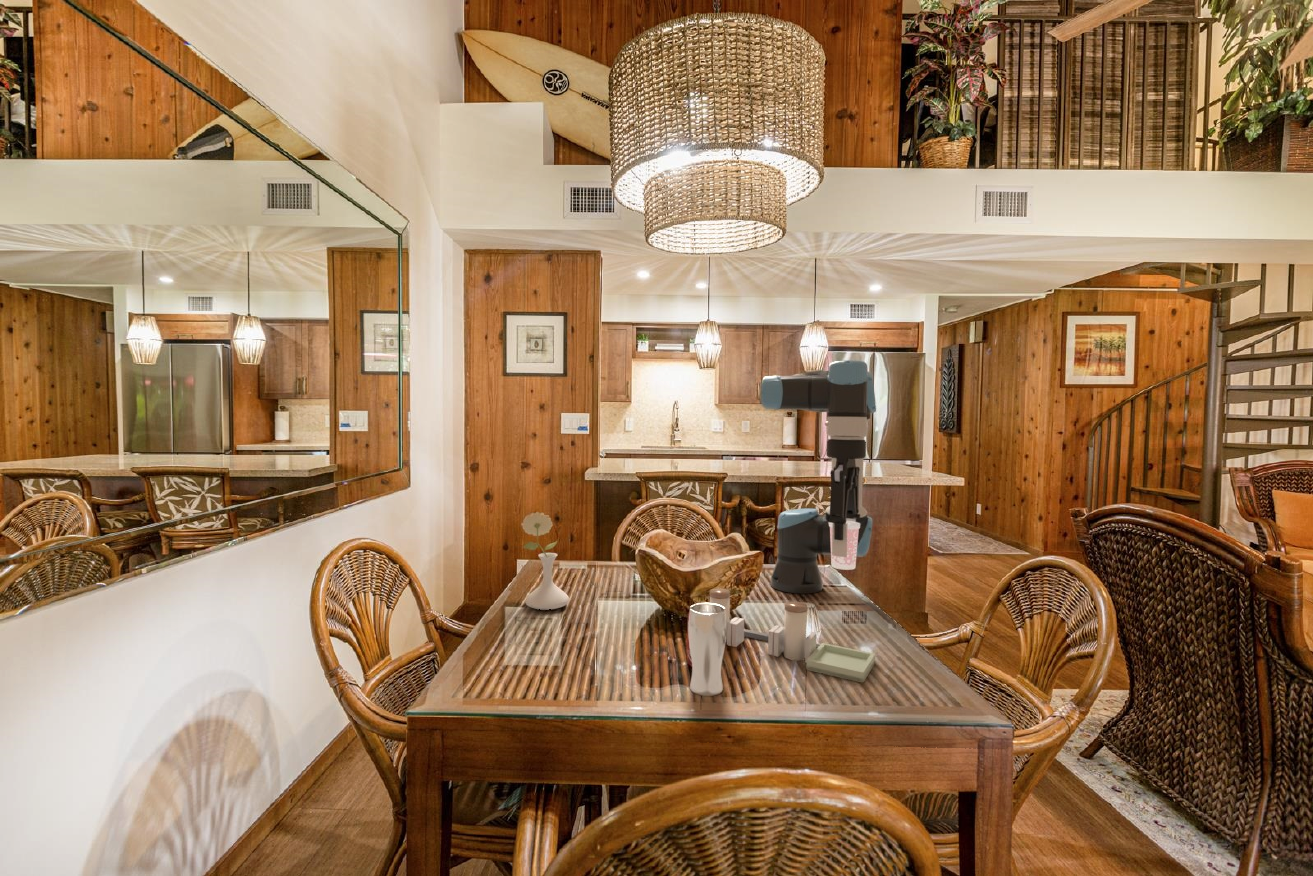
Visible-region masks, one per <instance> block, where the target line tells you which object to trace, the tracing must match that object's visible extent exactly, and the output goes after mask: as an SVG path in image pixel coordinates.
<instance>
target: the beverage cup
mask: <svg viewBox="0 0 1313 876" xmlns="http://www.w3.org/2000/svg"><path fill="white" fill-rule="evenodd" d="M846 523H847V524H848V529H847V557H840V556H833V555H832V533H833V523H830V522H829V527H830V541H831V555H830V559H831V560H830V561H831V564H830V565H831V567H832V568H834V569H837V570H846V571H849V570H850V571H851V570H855V569H856V566H857V565H856V564H857V557H856V555H857V543H858V532H859V528H860V523H858V522H854V521H846Z"/></svg>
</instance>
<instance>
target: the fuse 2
mask: <svg viewBox="0 0 1313 876" xmlns="http://www.w3.org/2000/svg"><path fill="white" fill-rule="evenodd" d="M807 611H808V605H807V604H806V602H802V601H801V602H800V601H795V600H794V601H793V600H792V601H786V602H784V624H783V625H784V626H783V627H784V651H783V656H784V658H785V659H788V660H791V661H804V660H805V639H806V638H807V619H808V618H807V614H808V613H807ZM803 659H804V660H803Z"/></svg>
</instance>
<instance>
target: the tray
mask: <svg viewBox="0 0 1313 876" xmlns="http://www.w3.org/2000/svg"><path fill="white" fill-rule="evenodd" d="M819 645H820V646H819V647H818V648H817V649H816V650H815V651H814V652H813V653H812V654H811V655H810V657H809V658H808V659H807V660H806V663H805V664H806V667H805V669H806V671H809V670H810V672H815V673H820V674H822V673H823V675H827V676H832V677H837V678H840V679H844V680H847V681H848V680H849V681H853V682H858V683H861V684H864V683H865V680H866V679H867V677H868V676H869V674H870V672H871V671H872V669H873V667H874V666H875V664H876V653H874V652H870V651H869V652H868V651H864V650H858V649H854V648H850V647H844V646H840V645H839V646H838V645H835V644H831V643H830V644H829V643H825V642H821V644H819Z"/></svg>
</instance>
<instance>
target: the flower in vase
mask: <svg viewBox="0 0 1313 876" xmlns="http://www.w3.org/2000/svg"><path fill="white" fill-rule="evenodd" d="M520 525H521V527H522V529H523V530H524V533H526V534H528V535H532V536H533V537H536V540H537V542H533V541H530V542H529V541H528V542H527V543H526V544H524V545H523V547H522V549H526V550H531V551H535V550H536V549H537V548H538V547H539V548H540V549H541V551H542V553H539V554H538V558H539V559H540V562H541V563H542V569H543V570H542V571H543V575H542V582H541V584H540V585H538V587H536V588H535V589H534V590H533V591H531V592H530V593H529V594H528V595H527V596H526V598H525V604H526V605H527V607H529V608H532V609H535V610H539V609H540V610H541V611H546V610H547V611H550V610H549V609H551V610H556V609H559V608H563V607H565V606H567V605H568V603H569V602H570V597H569V596H568V594H567V593H566V592H565V591H563V589H561V588H560V587H558V586H557V585H556V584H555V583H554V580H553V566H554V562H555V560H556V558H558V553H555V552H546V551H548V550H551V549H553V548H554V547H556V545H557V543H558V540H556V541H555V542H552V543H548V544H547V545H546V546H545V547H544V548H543V547H542V546H541V544H540V542H539V541H540V540H539V537H541V536H543V535H545V534H547V533H548V534H549V533H550V530H551V529H552V527H553V526H554V524H553V521H552V518H551V517H550V515H549V514H548V515H547V514H545V513H544V512H541V513H540V512H539V511H536V512H531V513H530V514H527V515H526V516H525V517H524V519H523V520H522V522H521V523H520Z"/></svg>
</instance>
